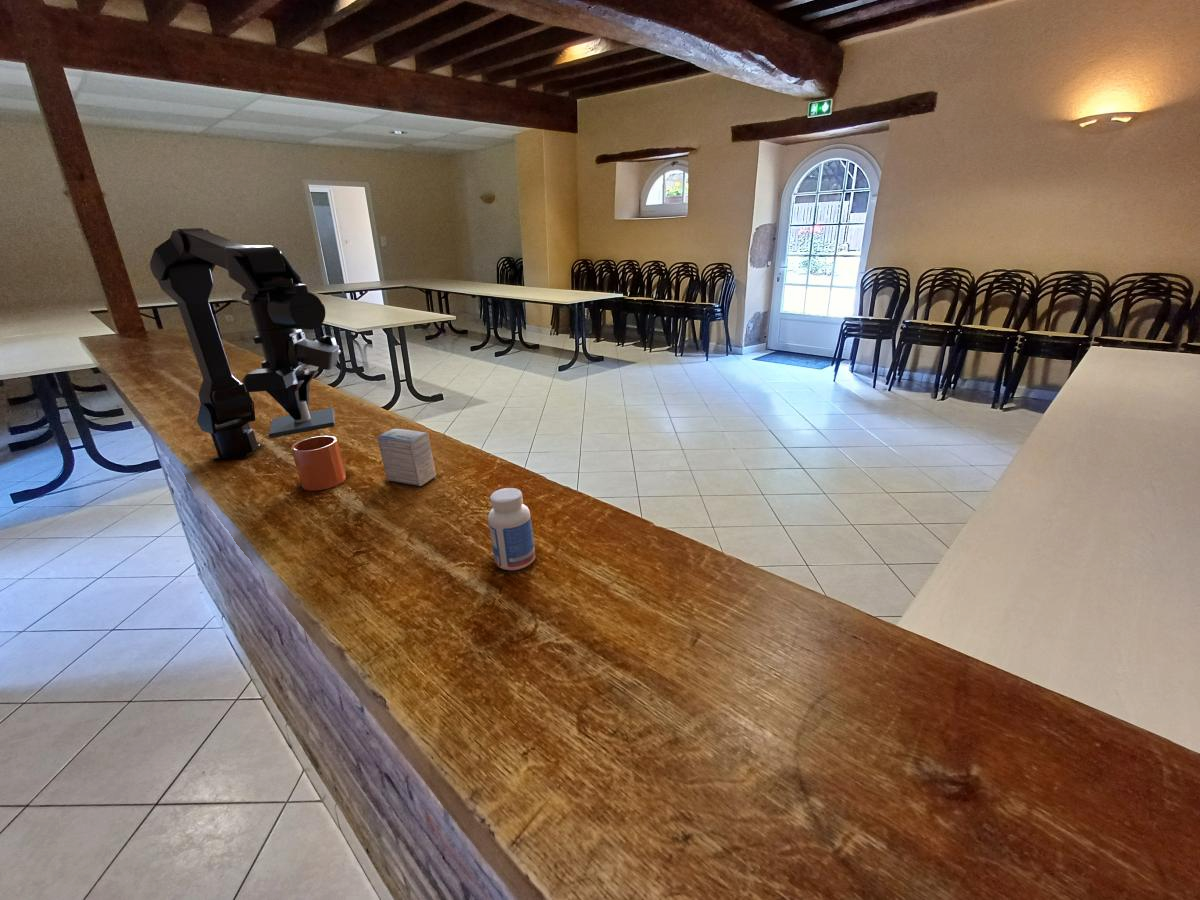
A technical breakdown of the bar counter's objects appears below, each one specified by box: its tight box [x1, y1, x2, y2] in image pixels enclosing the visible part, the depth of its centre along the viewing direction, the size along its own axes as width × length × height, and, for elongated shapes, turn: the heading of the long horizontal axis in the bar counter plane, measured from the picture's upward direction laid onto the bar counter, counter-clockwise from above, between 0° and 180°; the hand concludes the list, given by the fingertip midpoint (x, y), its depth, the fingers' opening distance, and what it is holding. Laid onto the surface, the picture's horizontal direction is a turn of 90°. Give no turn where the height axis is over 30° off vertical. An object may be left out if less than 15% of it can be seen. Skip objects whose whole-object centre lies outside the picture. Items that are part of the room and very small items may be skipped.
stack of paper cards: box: [377, 428, 437, 487], centre depth 97 cm, size 8×4×9 cm, turn 65°
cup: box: [290, 435, 347, 492], centre depth 98 cm, size 7×7×8 cm
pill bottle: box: [487, 487, 536, 571], centre depth 72 cm, size 6×5×10 cm
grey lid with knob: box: [268, 401, 336, 439], centre depth 97 cm, size 10×10×4 cm
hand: (301, 416), depth 97 cm, fingers closed on grey lid with knob, 2 cm apart
